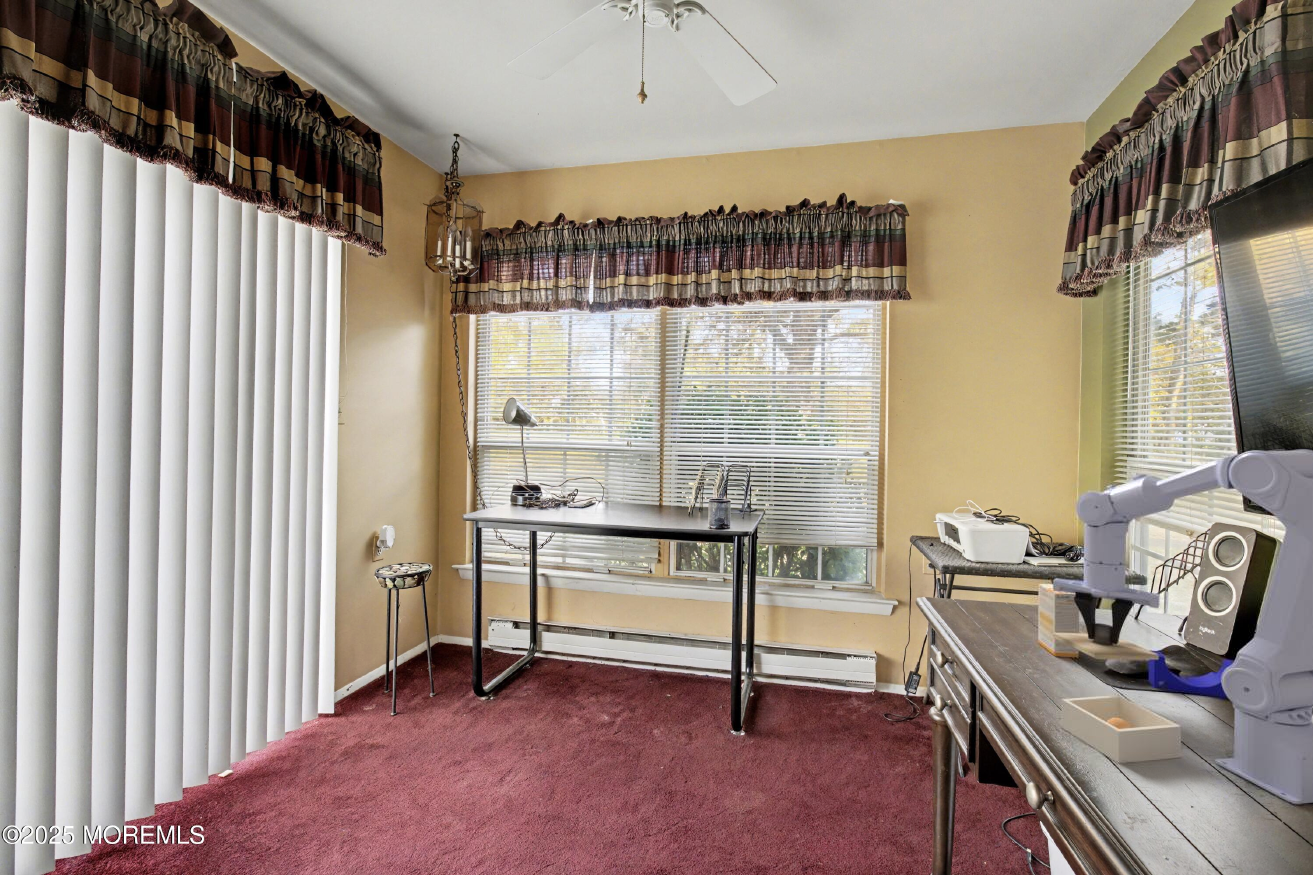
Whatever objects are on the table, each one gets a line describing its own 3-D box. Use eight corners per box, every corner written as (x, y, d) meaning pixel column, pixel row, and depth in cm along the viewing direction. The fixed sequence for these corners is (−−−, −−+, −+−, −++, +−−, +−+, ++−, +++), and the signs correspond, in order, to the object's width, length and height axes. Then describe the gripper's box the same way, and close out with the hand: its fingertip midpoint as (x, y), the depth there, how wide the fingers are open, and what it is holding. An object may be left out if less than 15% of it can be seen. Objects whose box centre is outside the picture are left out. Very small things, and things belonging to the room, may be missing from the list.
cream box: (1180, 757, 86) (1181, 726, 86) (1118, 763, 84) (1118, 731, 84) (1117, 722, 96) (1118, 694, 96) (1061, 727, 94) (1061, 699, 94)
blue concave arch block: (1230, 690, 107) (1230, 657, 107) (1241, 701, 103) (1242, 666, 103) (1146, 679, 112) (1146, 647, 112) (1153, 688, 108) (1154, 655, 108)
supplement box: (1080, 658, 122) (1081, 594, 122) (1054, 656, 123) (1054, 593, 123) (1061, 643, 130) (1062, 583, 130) (1037, 642, 131) (1037, 582, 131)
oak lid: (1158, 663, 98) (1159, 636, 98) (1094, 661, 98) (1095, 634, 98) (1110, 641, 108) (1110, 617, 108) (1052, 640, 108) (1053, 615, 108)
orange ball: (1136, 742, 89) (1136, 722, 89) (1118, 744, 88) (1118, 724, 88) (1118, 732, 92) (1118, 713, 92) (1100, 734, 91) (1100, 714, 91)
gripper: (1048, 558, 105) (1048, 635, 106) (1155, 572, 95) (1154, 658, 95) (1059, 552, 110) (1058, 625, 111) (1161, 565, 100) (1160, 646, 100)
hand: (1103, 639), depth 103 cm, fingers closed on oak lid, 3 cm apart
